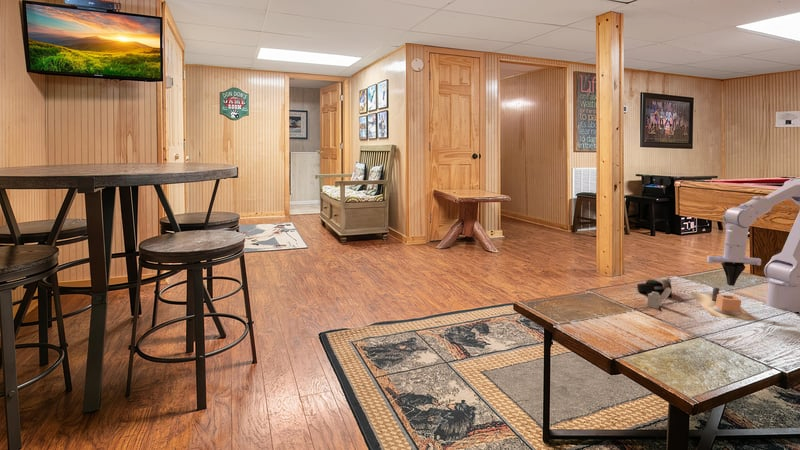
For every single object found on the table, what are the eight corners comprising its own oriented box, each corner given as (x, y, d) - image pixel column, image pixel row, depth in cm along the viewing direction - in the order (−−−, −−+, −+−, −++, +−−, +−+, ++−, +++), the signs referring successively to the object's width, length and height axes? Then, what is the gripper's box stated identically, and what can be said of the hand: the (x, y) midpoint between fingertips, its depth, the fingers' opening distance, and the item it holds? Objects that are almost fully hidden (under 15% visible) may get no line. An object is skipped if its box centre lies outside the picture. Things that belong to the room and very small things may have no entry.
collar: (733, 307, 148) (734, 295, 148) (739, 312, 144) (741, 300, 143) (715, 305, 150) (717, 294, 149) (721, 310, 145) (722, 299, 144)
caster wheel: (636, 295, 174) (667, 294, 170) (642, 299, 163) (674, 297, 159) (634, 278, 174) (664, 276, 171) (639, 279, 163) (672, 278, 160)
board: (726, 298, 162) (728, 283, 161) (756, 322, 139) (759, 306, 139) (688, 295, 166) (690, 281, 165) (712, 318, 143) (714, 302, 142)
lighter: (646, 305, 155) (648, 283, 154) (649, 304, 156) (651, 282, 155) (667, 312, 149) (669, 289, 148) (670, 311, 150) (672, 288, 149)
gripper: (755, 243, 147) (751, 282, 149) (705, 241, 151) (701, 279, 153) (766, 247, 140) (761, 289, 143) (713, 245, 144) (708, 285, 147)
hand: (730, 284), depth 148 cm, fingers closed
